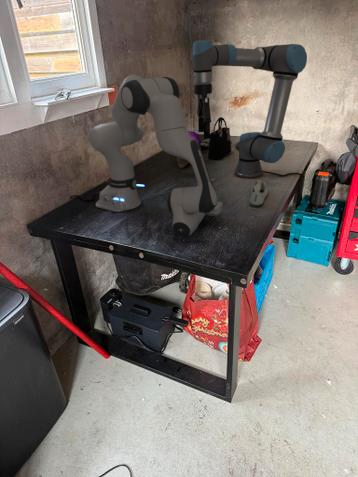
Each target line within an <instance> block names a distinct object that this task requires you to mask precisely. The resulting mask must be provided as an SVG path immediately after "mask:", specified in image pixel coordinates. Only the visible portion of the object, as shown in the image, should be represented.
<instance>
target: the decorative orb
mask: <svg viewBox="0 0 358 477" xmlns="http://www.w3.org/2000/svg"><path fill="white" fill-rule="evenodd" d="M187 131H188V133H189V135H190V137H191V138H192V139H193V140H194V141H196V142H197V143H198V144H199V146H200V145H201V141H202V140H201V137H200V135H199V134H198V133H197V132H195V131H192V130H187Z"/></svg>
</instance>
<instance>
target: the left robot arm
mask: <svg viewBox="0 0 358 477" xmlns="http://www.w3.org/2000/svg"><path fill="white" fill-rule="evenodd" d="M118 88H119V89H118V91H117V93H116V96H115V99H114V101H113V104H112V107H111V116H112V118H113V120H114V121H111V122H105V123H100V124H98V125H96V126H93V127H92V128H90V129H89V132H88V142H89V144H90V146H91V147H92V149H94V150H95V151H97V152H99V153H100V154H101V155H102V156H103V157H104V159H105V160H106V162H107V166H108V170H109V174H110V177H108V178H107V179H106V183H108V185H106V186H105V187H104V189H101V190H100V191H98V192H96V193H94V194H93V195H92V198H89V199H88V198H84V196H82V195H78V194H73V196H72V195H70V196H69V199H72V198H74V197H77V198H81V200H82V201H84V202H91V201H93V200H94V199H95V197H96V196H97V199H98V200H97V201H96V203H95V208H99V209H103V210H107V211H111V212H115V213H121V212H124V211H129V210H134V209H136V208H138V207H140V206H141V204H142V200H141V198H140V196H139V193H138V187H145V184H139V183H138V184H137V178H136V174H135V168H134V160H133V159H132V158H131V157H130V156H129V155H127V154H125V153H123V152H122V150H121V148H123V147H126V146H130V145H133V144H136V143H138V142H140V141H141V140H142V139H143V136H144V128H143V126H142V123H141V122H140V121H139V118H140V116H141V115H142V116H145V115H146V114H147V113H148V114H150V116H151V117H152V119H153V123H154V130H155V136H156V141H157V143H158V146H159V148H160V149H161V150H162V151H163V152H165V153H166V154H168V155H170V156H173V157H176V156H177V157H181V158H183V159H185V160H187V161H189V162H190V163H189V164H190V165H191V168H192V170H193V173H194V175H195V179H196V183H197V182H198V185H199V186H197V185H196V186H183V187H181V186H180V187H174V188H172V189H171V191H170V192H169V193H168V196H167V201H166V204H167V208H168V211H169V213H170V215H171V216H172V224H171V230H172V231H173V233H174V234H175V235H177V236H179V237H183V238H185V237H190V236H191V235H192V234H193V233H194V232H196V230H197V229H198V227H199V224H200V223H202V221H203V220H204V218H205V216H211V217H216V216H219V215H220V214H221V213H222V212H223V211H224V203H223V201H218V195H217V192H216V190H215V189H216V188H215V187H214V184H213V183H212V180H211V176H210V172H209V170H208V167H207V164H206V161H205V157H204V154H203V151H202V148H200V146H199V144H198V143H197V142H196V141H194V140H193V139H192V138H191V137H190V135H189V133H188V131H189V130H188V128H187V121H186V116H185V112H184V109H183V106H182V102H181V101H180V88H179V85H178V83H177V81H176V80H175V79H174V78H171V77H169V76H160V77H159V76H152V77H151V76H150V77H144V78H143V76H140V75H138V74H129V75H128V76H126V77H125V79H123V81H122V83H121V85H120V87H118Z"/></svg>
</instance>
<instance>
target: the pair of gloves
mask: <svg viewBox="0 0 358 477" xmlns="http://www.w3.org/2000/svg"><path fill="white" fill-rule="evenodd" d="M230 141H231V144H232V142H233V141H232V140H230ZM209 142H210V139H204V140H201V145H200V149H202V148H208V149H209Z"/></svg>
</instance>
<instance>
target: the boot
mask: <svg viewBox="0 0 358 477" xmlns="http://www.w3.org/2000/svg"><path fill="white" fill-rule="evenodd" d="M175 159H176V162H177V165H178V168H179V169H183V168H185V167H186V166H187V165H188V164H191V163H190V162H189V161H187V160H185V159H183V158H181V157H177V156H175Z"/></svg>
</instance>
